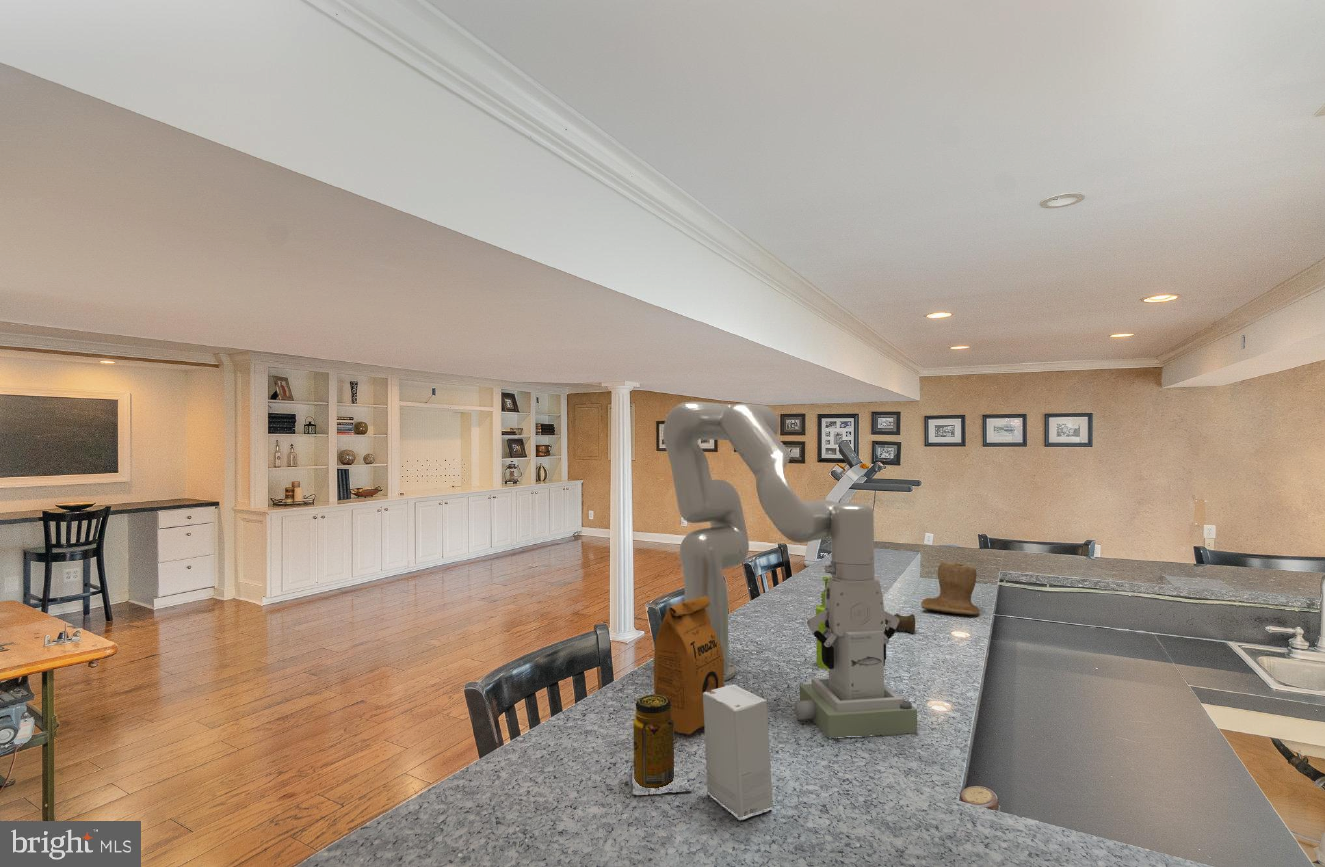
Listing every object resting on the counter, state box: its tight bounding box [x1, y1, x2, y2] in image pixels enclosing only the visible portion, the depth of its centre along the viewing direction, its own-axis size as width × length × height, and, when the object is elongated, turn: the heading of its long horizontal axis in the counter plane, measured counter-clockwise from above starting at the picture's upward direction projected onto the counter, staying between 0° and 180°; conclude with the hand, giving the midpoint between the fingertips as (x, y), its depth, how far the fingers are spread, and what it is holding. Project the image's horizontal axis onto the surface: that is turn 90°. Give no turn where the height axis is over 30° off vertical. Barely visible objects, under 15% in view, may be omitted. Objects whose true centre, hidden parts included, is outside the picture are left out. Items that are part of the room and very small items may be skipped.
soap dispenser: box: [815, 575, 832, 670], centre depth 141 cm, size 6×7×20 cm
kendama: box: [885, 613, 916, 634], centre depth 170 cm, size 6×10×20 cm
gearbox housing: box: [794, 676, 918, 739], centre depth 113 cm, size 19×14×6 cm
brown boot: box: [920, 560, 980, 615], centre depth 186 cm, size 15×12×15 cm
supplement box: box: [828, 630, 885, 701], centre depth 113 cm, size 7×7×13 cm
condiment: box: [632, 694, 675, 788], centre depth 92 cm, size 7×8×12 cm
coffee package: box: [653, 596, 725, 735], centre depth 112 cm, size 10×12×22 cm
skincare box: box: [703, 683, 774, 817], centre depth 87 cm, size 8×6×15 cm
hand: (854, 665), depth 113 cm, fingers open, 9 cm apart
